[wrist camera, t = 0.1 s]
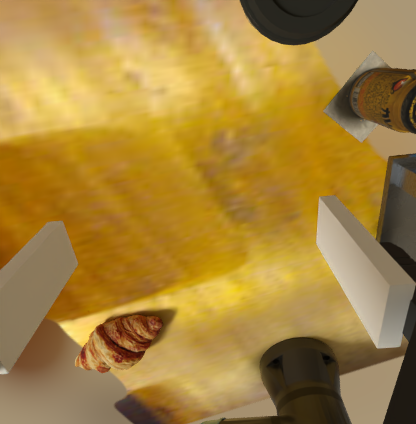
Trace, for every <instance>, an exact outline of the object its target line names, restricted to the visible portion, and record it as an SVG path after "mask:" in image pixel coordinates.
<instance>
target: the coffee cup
mask: <svg viewBox="0 0 416 424" xmlns="http://www.w3.org/2000/svg"><path fill="white" fill-rule="evenodd" d="M357 1H358V0H240V2H241V5H242V7H243V10H244V13H245V15H246V18H247V19H248V21H249V22H250V24H251V25H252V26H253V27H254V28H255V29H257V30H258V31H259V32H260V33H261V34H262V35H264V36H265V37H267V38H268V39H270V40H272V41H275V42H278V43H280V44H286V45H301V44H307V43H310V42H313V41H316V40H318V39H320V38H322V37H323V36H325V35H327V34H329V33H330V32H331V31H332V30H334V29H335V28H336V27H337V26H339V25H340V24H341V22H343V20H344V19H345V18H346V17H347V16H348V15H349V13H350V12H351V11H352V9H353V8H354V6H355V4H356V3H357Z"/></svg>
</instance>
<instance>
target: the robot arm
mask: <svg viewBox="0 0 416 424" xmlns="http://www.w3.org/2000/svg"><path fill="white" fill-rule="evenodd" d="M316 244H317V246H318V248H319V249H320V251H321V253H322V254H323V256H324V258H325V260H326V261H327V263H328V265H329V266H330V268H331V270H332V272H333V273H334V275H335V277H336V279H337V280H338V282H339V284H340V285H341V287H342V289H343V291H344V292H345V294H346V296H347V298H348V299H349V301H350V303H351V304H352V306H353V308H354V310H355V311H356V313H357V315H358V316H359V318H360V320H361V322H362V323H363V325H364V327H365V329H366V330H367V332H368V334H369V335H370V337H371V339H372V341H373V342H374V344H375V346H376V348H392V347H400V345H401V341H402V337H403V334H404V336H405V337H406V339H407V340H408V342H409V344H408V347H407V350H406V353H405V356H404V360H403V363H402V366H401V369H400V372H399V375H398V378H397V381H396V385H395V388H394V391H393V394H392V397H391V400H390V403H389V406H388V409H387V413H386V416H385V419H384V422H383V424H416V262H415V261H414V260H413V259H412V258H411V257H410V256H409V255H408V254H407V253H406V252H405V251H404V250H403V249H402V248H400V247H398V246H397V245H395V244H393V243H391V242H383V243H378V242H377V241H376V239H375V238H374V237H373V236H372V235H371V234H370V233H369V232H368V231H367V230H366V229H365V228H364V226H363V225H362V224H361V223H360V222H359V221H358V220H357V219H356V218H355V217H354V216H353V214H352V213H351V212H350V211H349V210H348V209H347V208H346V207H345V206H344V205H343V204H342V203H341V201H340V200H339V199H338V198H337V197H336V196H335V195H334V196H323V197H319V209H318V224H317V240H316ZM77 265H78V262H77V259H76V257H75V254H74V251H73V248H72V246H71V243H70V240H69V237H68V234H67V232H66V229H65V226H64V223H63V221H55V222H48V223H47V224H46V225H45V226H44V227H43V228H42V229H41V230H40V231H39V232H38V233H37V234H36V235H35V236H34V237H33V238H32V239H31V240H30V241H29V242H28V243H27V244H26V245H25V246H24V247H23V248H22V249H21V250H20V251H19V252H18V253H17V254H16V255H15V256H14V257H13V258H12V259H11V260H10V261H9V262H8V263H7V264H6V265H5V266H4V267H3V268H2V269H1V271H0V374H8V373H9V372H10V370H11V369H12V367H13V365H14V364H15V362H16V360H17V359H18V358H19V356H20V354H21V353H22V351H23V349H24V348H25V347H26V345H27V343H28V342H29V340H30V339H31V337H32V336H33V334H34V332H35V331H36V329H37V328H38V326H39V325H40V323H41V322H42V320H43V318H44V317H45V315H46V314H47V312H48V311H49V309H50V307H51V306H52V304H53V303H54V301H55V300H56V298H57V296H58V295H59V293H60V292H61V290H62V289H63V287H64V286H65V284H66V282H67V281H68V279H69V278H70V276H71V275H72V273H73V271H74V270H75V268H76V267H77ZM260 373H261V378H262V381H263V384H264V386H265V388H266V389H267V391H268V393H269V395H270V397H271V399H272V401H273V403H274V405H275V406H276V409H277V415H278V416H265V417H248V418H231V419H226V418H220V419H219V420H211V421H205V422H202V423H201V424H352V423H351V421H350V419H349V416H348V413H347V411H346V408H345V406H344V403H343V401H342V398H341V394H340V378H339V366H338V362H337V360H336V357H335V355H334V353H333V351H332V350H331V348H330V347H329V346H327V345H326V344H324V343H323V342H320V341H318V340H314V339H309V338H295V339H289V340H286V341H283V342H280V343H278V344H276V345H274V346H273V347H271V348H270V349H269V350H267V351H266V353H265V354H264V355H263V357H262V359H261V361H260Z"/></svg>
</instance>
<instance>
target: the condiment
mask: <svg viewBox="0 0 416 424" xmlns="http://www.w3.org/2000/svg"><path fill="white" fill-rule="evenodd" d="M324 112H325V113H326V114H327V115H328V116H330V117H331V118H332V119H333V120H334V121H336V122H337V123H338V124H339V125H340V126H342V127H343V128H344V129H345V130H347V131H348V132H349V133H350V134H352V135H353V136H354V137H355V138H356V139H358V140H359V141H360V142H361V143H362V142H363V140H364V139H365V138H366V137H367V136H368V135H369V134H370V133H371V132H372V131H373V130H374V128H375V127H376V126H377V125H378V124H379V125H382V126H385V127H387V128H390V129H392V130H396V131H398V132H404V133H406V132H411V133H414V134H416V70H415V69H413V70H407V69H398V68H396V69H392V68H390V67H389V66H388V65H387V64H386V63H385V62H384V61H383V60H382V59H381V58H380V57H379V56H378V55H377V54H376V53H375V52H374V51H372V52H371V53H370V54H369V56H368V57H367V58H366V59H365V60H364V61H363V63H362V64H361V65H360V66H359V68H358V69H357V70H356V71H355V72H354V74H353V75H352V76H351V77H350V78H349V80H348V81H347V82H346V84H345V85H344V86H343V88H342V89H341V90H340V91H339V92H338V93H337V95H336V96H335V97H334V98H333V99H332V101H331V102H330V103H329V105H328V106H327V107H326V108H325V109H324Z"/></svg>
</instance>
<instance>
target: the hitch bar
mask: <svg viewBox="0 0 416 424" xmlns="http://www.w3.org/2000/svg"><path fill="white" fill-rule="evenodd" d="M376 241H377V242H378V243H383V242H391V243H393V244H395V245H397V246H398V247H400V248H402V249H403V250H404V251H405V252H406V253H407V254H408V255H409V256H410V257H411V258H412V259H413V260H414V261H415V262H416V154H406V155H397V156H389V159H388V165H387V171H386V178H385V184H384V191H383V197H382V204H381V210H380V216H379V223H378V229H377V236H376Z"/></svg>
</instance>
